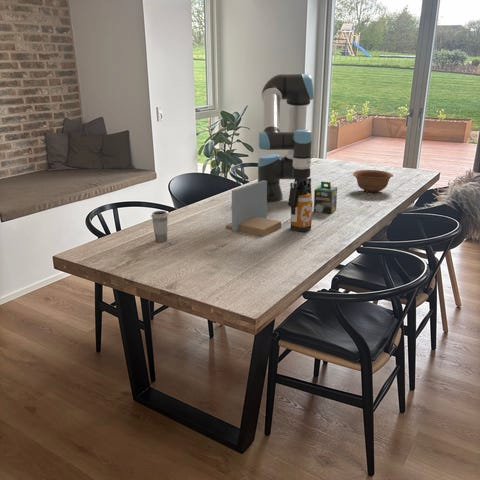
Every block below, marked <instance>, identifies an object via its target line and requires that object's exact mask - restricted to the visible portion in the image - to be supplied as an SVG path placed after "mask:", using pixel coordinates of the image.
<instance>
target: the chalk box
mask: <svg viewBox="0 0 480 480" xmlns="http://www.w3.org/2000/svg"><path fill="white" fill-rule="evenodd" d="M337 194H338V187H337V186H332V185H331V182H330V181H329V182H327V181H321V183H320V185H319V186H317V187H316V188H315V189H314V195H313V198H314V199H313V212H314V213H321V214H327V215H328V214H329V215H331V214H333V213H334V212H335V211H336V210H337V205H338V204H337V200H338V195H337Z"/></svg>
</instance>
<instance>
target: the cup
mask: <svg viewBox="0 0 480 480" xmlns="http://www.w3.org/2000/svg"><path fill="white" fill-rule="evenodd" d="M150 217H151V218H152V226H153V232H154V233H153V234H154V239H155V242H156V243H166V242H167V241H168V223H169V222H168V217H169V214H168V211H166V210H155V211H153V212H152V214H150Z"/></svg>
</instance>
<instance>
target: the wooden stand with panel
mask: <svg viewBox="0 0 480 480" xmlns="http://www.w3.org/2000/svg"><path fill="white" fill-rule="evenodd" d="M267 205H268V201H267V181H264V180H263V181H260V182H258V181H257V182H255V183H251V184H248V185H245V186H242V187H239V188H234V189H233V190H231V222H230V223H228V224H226V225H225V229H229V230H231V231H232V232H234V233H236V232H238V231H239V232H243V233H248V234H251V235H256V236H260V237H265V236H268V235H269V234H272V233H273V232H274V233H275V232H276V231H277V230H280V229H281V228H282V221H280V220H275V219H271V218H268V216H267V213H268V212H267V211H268V209H267V208H268V207H267Z"/></svg>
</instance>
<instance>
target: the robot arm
mask: <svg viewBox="0 0 480 480" xmlns="http://www.w3.org/2000/svg"><path fill="white" fill-rule="evenodd" d="M313 82H314V81H313V77H312V75H310V74H303V73H298V74H297V73H296V74H289V73H288V74H285V73H284V74H283V73H281V74H276V75H275V76H274V75H273V77H271V78H269V79H268V81H266V83H265V84H264V86H263V87H262V92H261V100H262V102H263V118H262V119H263V126H262V127H263V129H262V132H261V131H260V132H259V133H258V148H259V149H260V150H265V151H269V150H270V151H275V150H278V151H280V150H281V151H283V150H284V151H286V152H285V153H284V156H282V157H281V155H280V154H279V153H269V154H264V155H262V156H259V158H258V160H257V161H258V162H257V182H260V181H263V180H264V181H267V202H277V201H281V200H283V194H284V193H283V191H282V188H281V183H280V180H294V181H293V182H290V185H289V186H290V190H289V195H288V201H287V202H288V203H287V206H288V207H291V208H290V222H291V221H293V222H297V208H298V207H296V206H297V202H298V198H299V195H300V192H301V191H302V187H303V186H304V185H305V186H309V188H310V190H308V192H307V193H310V194H311V196H312V185H311V184H312V178H310V177H311V168H310V167H311V164H312V144H313V133H312V130H309V129H306V127H307V125H306V124H307V112H308V111H307V109H308V106H309V105H310V104H311V101H312V100H314V84H313ZM282 100H286V104H287V105H288V108H289V109H288V131H287V132H286V131H281V101H282ZM311 200H312V197H311Z"/></svg>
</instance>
